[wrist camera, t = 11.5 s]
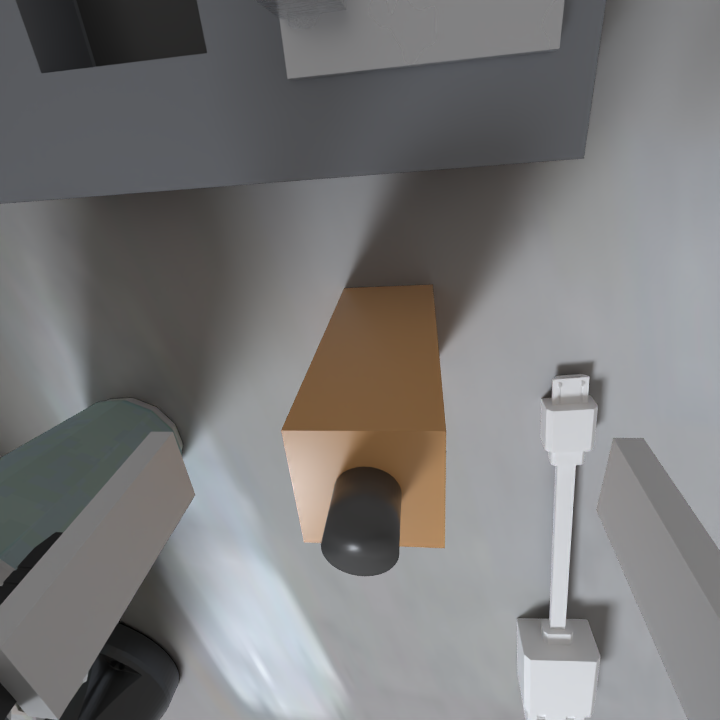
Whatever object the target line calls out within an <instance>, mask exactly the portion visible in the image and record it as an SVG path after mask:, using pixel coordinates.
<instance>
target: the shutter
mask: <svg viewBox="0 0 720 720" xmlns="http://www.w3.org/2000/svg"><path fill="white" fill-rule="evenodd" d="M255 1H256V2H258V3H259V4H260V5H262V6H263V7H264V8H266V9H267V10H268V11H270V12H271V13H272V14H274V15H275V16H276V17H278V18H279V19H280V27H281V34H282V41H283V49H284V56H285V64H286V71H287V79H290V80H301V79H310V78H319V77H328V76H337V75H346V74H355V73H364V72H373V71H382V70H391V69H400V68H409V67H418V66H427V65H436V64H445V63H454V62H463V61H473V60H482V59H491V58H500V57H509V56H518V55H527V54H536V53H545V52H554V51H556V50H558V49H559V48H560V39H561V29H562V20H563V10H564V1H565V0H255Z"/></svg>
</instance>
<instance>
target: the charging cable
mask: <svg viewBox="0 0 720 720" xmlns="http://www.w3.org/2000/svg"><path fill="white" fill-rule="evenodd" d="M588 391H589V376H588V375H584V374H576V375H563V376H555V377H554V378H552V398H541V432H540V439H541V441H542V443H543V446H544V448H545V450H546V451H548V458H549V460H550V463H551V464H552V465H554V466H555V490H554V515H553V540H552V565H551V590H550V615H549V619H544V618H518V619H517V674H518V680H519V685H520V690H521V696H522V701H523V708H524V714H525V719H526V720H584V718H585V717H591V715H592V714H593V712H594V707H595V698H596V690H597V682H598V673H599V665H600V657H601V656H600V653H599V651H598V648H597V645H596V642H595V639H594V637H593V634H592V631H591V628H590V625H589V623H588V620H587V619H566V610H567V595H568V579H569V564H570V548H571V532H572V517H573V501H574V486H575V470H576V465H582V464H583V463H584V459H585V451H591V450H592V449H594V447H595V435H596V423H597V412H598V405H597V404H596V402H595V401H594V399H593V398H592V396H591V395H588Z"/></svg>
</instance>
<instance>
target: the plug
mask: <svg viewBox="0 0 720 720" xmlns="http://www.w3.org/2000/svg"><path fill="white" fill-rule="evenodd" d="M281 432H282V437H283V442H284V447H285V452H286V457H287V462H288V467H289V471H290V476H291V481H292V486H293V491H294V496H295V501H296V506H297V511H298V516H299V520H300V525H301V530H302V535H303V540H304V542H307V543H321V549H322V553H323V555H324V557H325V558H326V559H327V561H328V562H329V563H330V564H331V565H333V566H334V567H335V568H337V569H339V570H341V571H343V572H346V573H348V574H352V575H357V576H374V575H379V574H382V573H384V572H386V571H388V570H390V569H391V568H392V567H393V566H394V565H395V564H396V562H397V560H398V558H399V546H405V547H429V548H445V484H446V425H445V414H444V403H443V392H442V381H441V370H440V359H439V348H438V337H437V326H436V315H435V304H434V293H433V285H408V286H384V287H360V288H344V290H343V292H342V294H341V297H340V299H339V301H338V303H337V306H336V308H335V310H334V312H333V315H332V317H331V319H330V321H329V324H328V326H327V328H326V330H325V333H324V335H323V337H322V340H321V342H320V344H319V346H318V349H317V351H316V353H315V355H314V358H313V360H312V362H311V364H310V367H309V369H308V371H307V373H306V376H305V378H304V380H303V382H302V385H301V387H300V389H299V391H298V394H297V396H296V398H295V401H294V403H293V405H292V407H291V410H290V412H289V414H288V416H287V419H286V421H285V423H284V425H283V428H282V430H281Z"/></svg>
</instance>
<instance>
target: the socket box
mask: <svg viewBox="0 0 720 720" xmlns="http://www.w3.org/2000/svg"><path fill="white" fill-rule="evenodd" d="M605 4H606V0H565V1H564V10H563V20H562V29H561V39H560V48H559V49H558V50H556V51H554V52H545V53H536V54H527V55H518V56H509V57H500V58H491V59H482V60H473V61H463V62H454V63H445V64H436V65H427V66H418V67H409V68H400V69H391V70H382V71H373V72H364V73H355V74H346V75H337V76H328V77H319V78H310V79H301V80H290V79H287V71H286V64H285V56H284V49H283V41H282V34H281V27H280V19H279V18H278V17H276V16H275V15H274V14H272V13H271V12H270V11H268V10H267V9H266V8H264V7H263V6H262V5H260V4H259V3H258V2H256V1H255V0H0V204H3V203H16V202H28V201H41V200H54V199H67V198H80V197H93V196H106V195H119V194H131V193H144V192H157V191H170V190H183V189H196V188H209V187H222V186H234V185H247V184H260V183H273V182H286V181H299V180H312V179H325V178H337V177H350V176H363V175H376V174H389V173H402V172H415V171H428V170H440V169H453V168H466V167H479V166H492V165H505V164H518V163H531V162H543V161H556V160H569V159H582V158H584V154H585V147H586V140H587V133H588V126H589V118H590V111H591V104H592V97H593V90H594V83H595V76H596V69H597V61H598V54H599V47H600V40H601V33H602V26H603V19H604V12H605Z"/></svg>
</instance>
